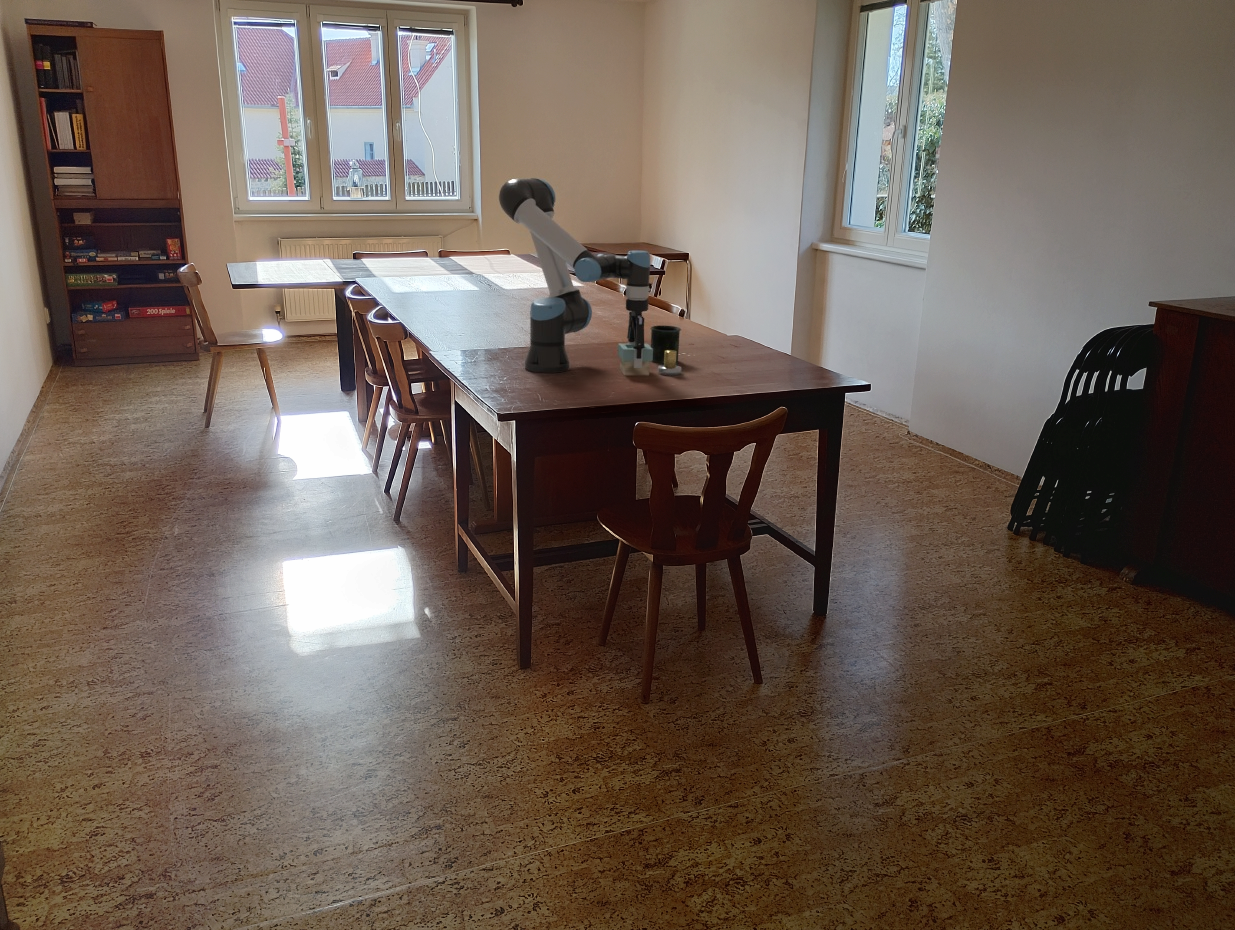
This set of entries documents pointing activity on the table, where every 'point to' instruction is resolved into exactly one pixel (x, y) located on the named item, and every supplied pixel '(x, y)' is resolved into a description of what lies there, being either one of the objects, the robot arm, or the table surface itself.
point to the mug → (664, 341)
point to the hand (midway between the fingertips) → (634, 364)
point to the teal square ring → (628, 352)
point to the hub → (669, 364)
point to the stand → (629, 369)
